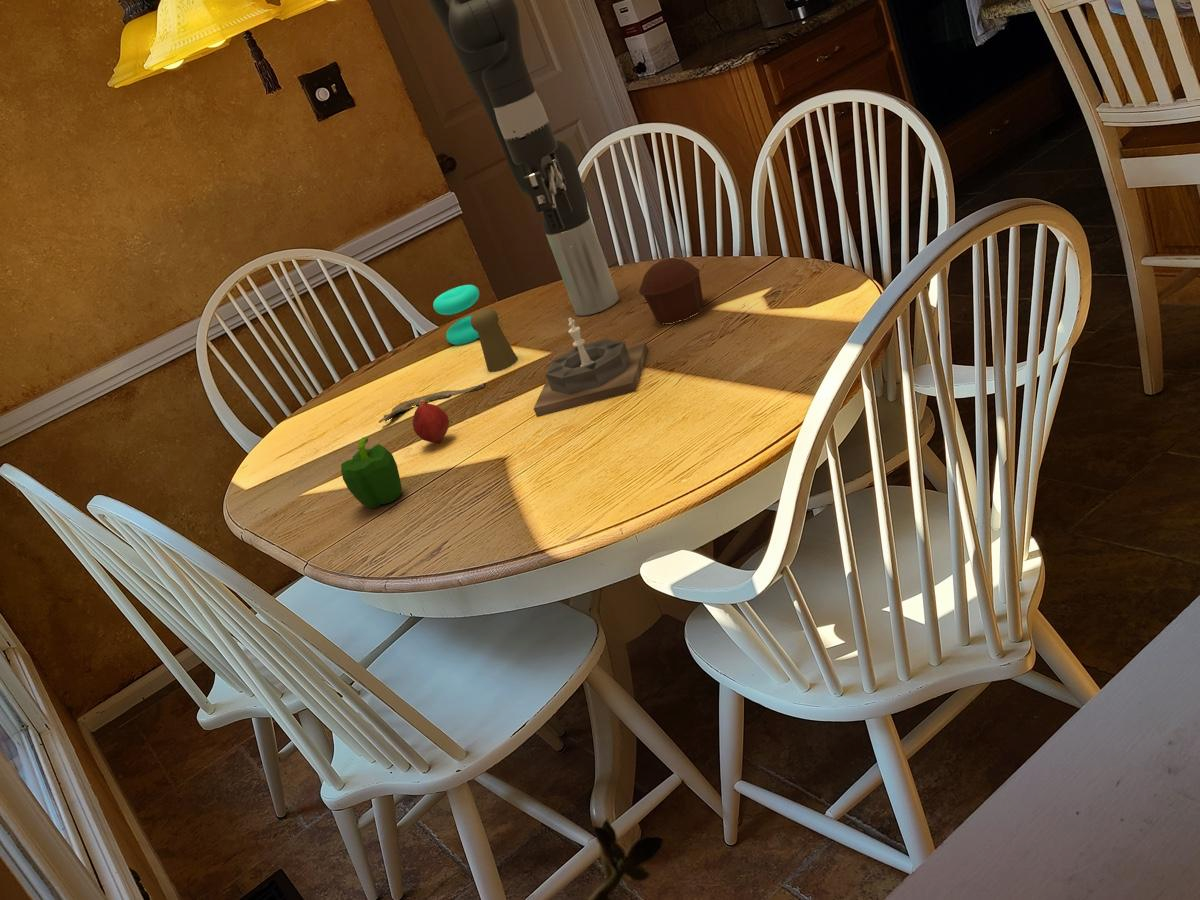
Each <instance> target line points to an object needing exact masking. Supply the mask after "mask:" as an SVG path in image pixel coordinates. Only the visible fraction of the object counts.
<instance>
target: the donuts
mask: <svg viewBox="0 0 1200 900" xmlns="http://www.w3.org/2000/svg"><path fill="white" fill-rule="evenodd" d="M479 298H480V290H479V288H478V287H477V286H476V285H474V284H464V285H459V286H457V287H453V288H450V289H448V290H446V291H445V292H444V291H443V293H441V294H440V295H438V296H437V297H436V298H435V299H434V301H433V302H432V303H433V305H432V306H433V310H434V311H435V312H436V313H437V314H440V315H443V316H451V315H455V314H458V313H461V312H463V311H465V310H467V309H469V308H471V307H472V306H473V305H475V304H476V303H477V302H478V299H479ZM472 316H473V314H470V315H468V316H465V317H463V318H460V319H457V321H455V322H454V323H452V324H451V325H450V326H449V327H448V329H447V331H446V334H445V336H446V337H445V338H446V340H447V342H448V343H449V344H451V345H459V346H460V345H464V344H469V343H472V342H473V341H476V339H477V340H478V338H479V335H478V332H477V331H475V330H474V329H473V327H472V325H471V317H472Z"/></svg>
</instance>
